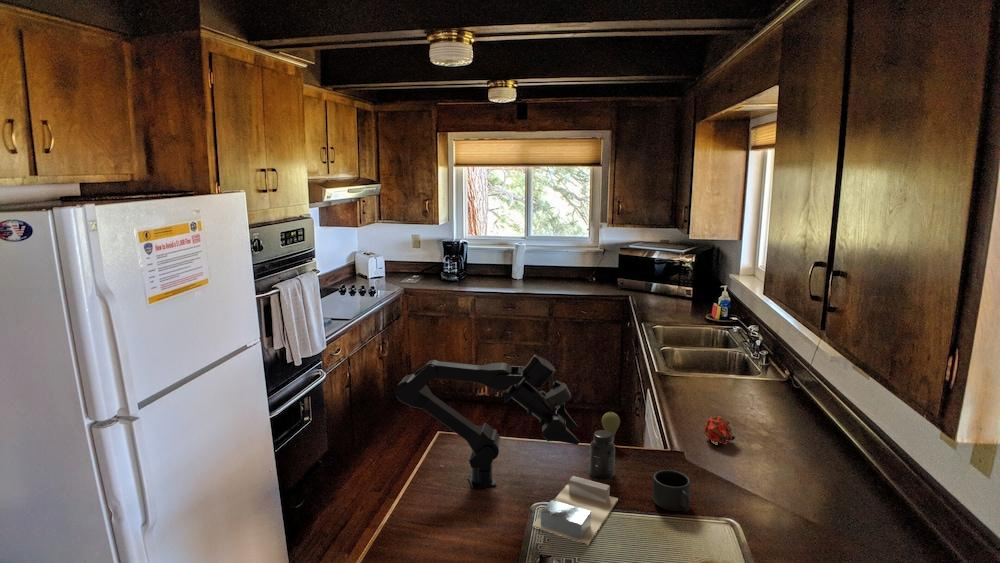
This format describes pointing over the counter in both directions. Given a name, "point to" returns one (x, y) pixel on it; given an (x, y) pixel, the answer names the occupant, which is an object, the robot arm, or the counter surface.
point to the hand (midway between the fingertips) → (577, 435)
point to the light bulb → (611, 423)
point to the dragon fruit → (718, 430)
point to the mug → (671, 490)
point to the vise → (585, 505)
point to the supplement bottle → (602, 456)
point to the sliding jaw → (566, 518)
